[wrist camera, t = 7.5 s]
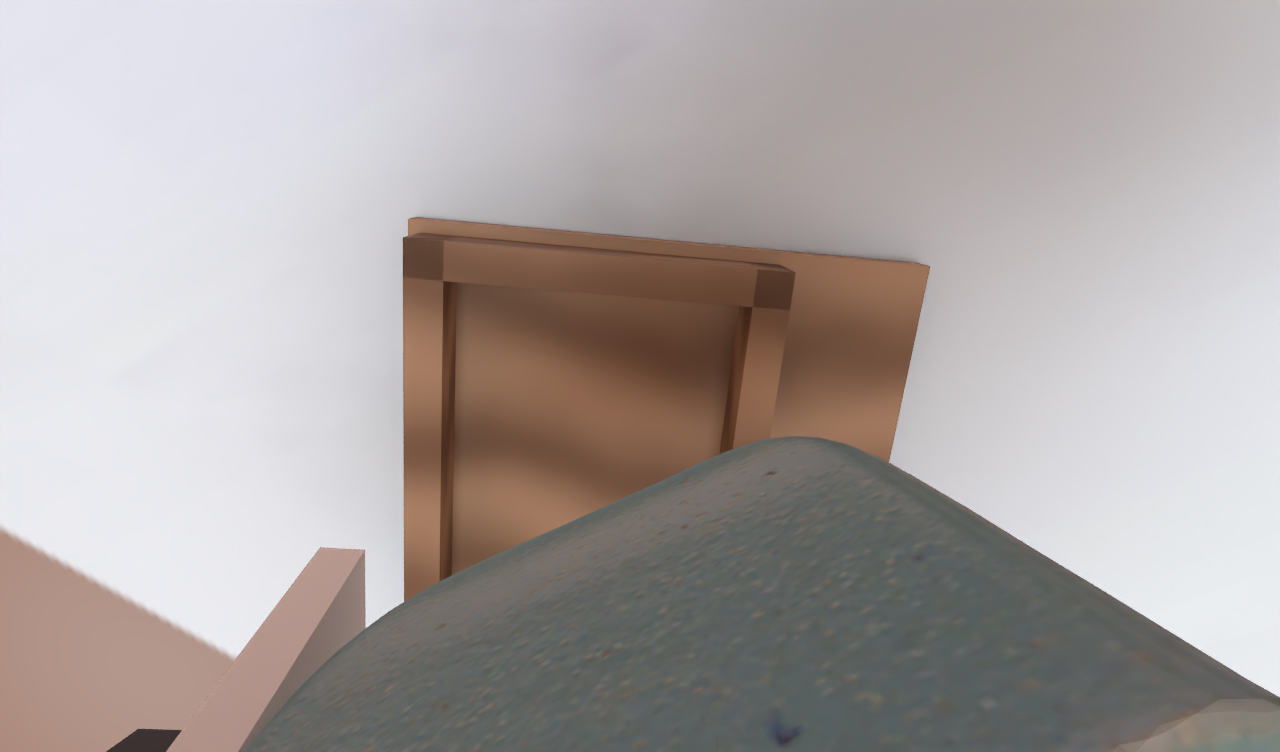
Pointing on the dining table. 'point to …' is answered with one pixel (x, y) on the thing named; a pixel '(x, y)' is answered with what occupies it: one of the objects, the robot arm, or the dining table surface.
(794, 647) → the flower pot
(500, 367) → the frame
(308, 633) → the robot arm
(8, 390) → the dining table surface
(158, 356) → the dining table surface
